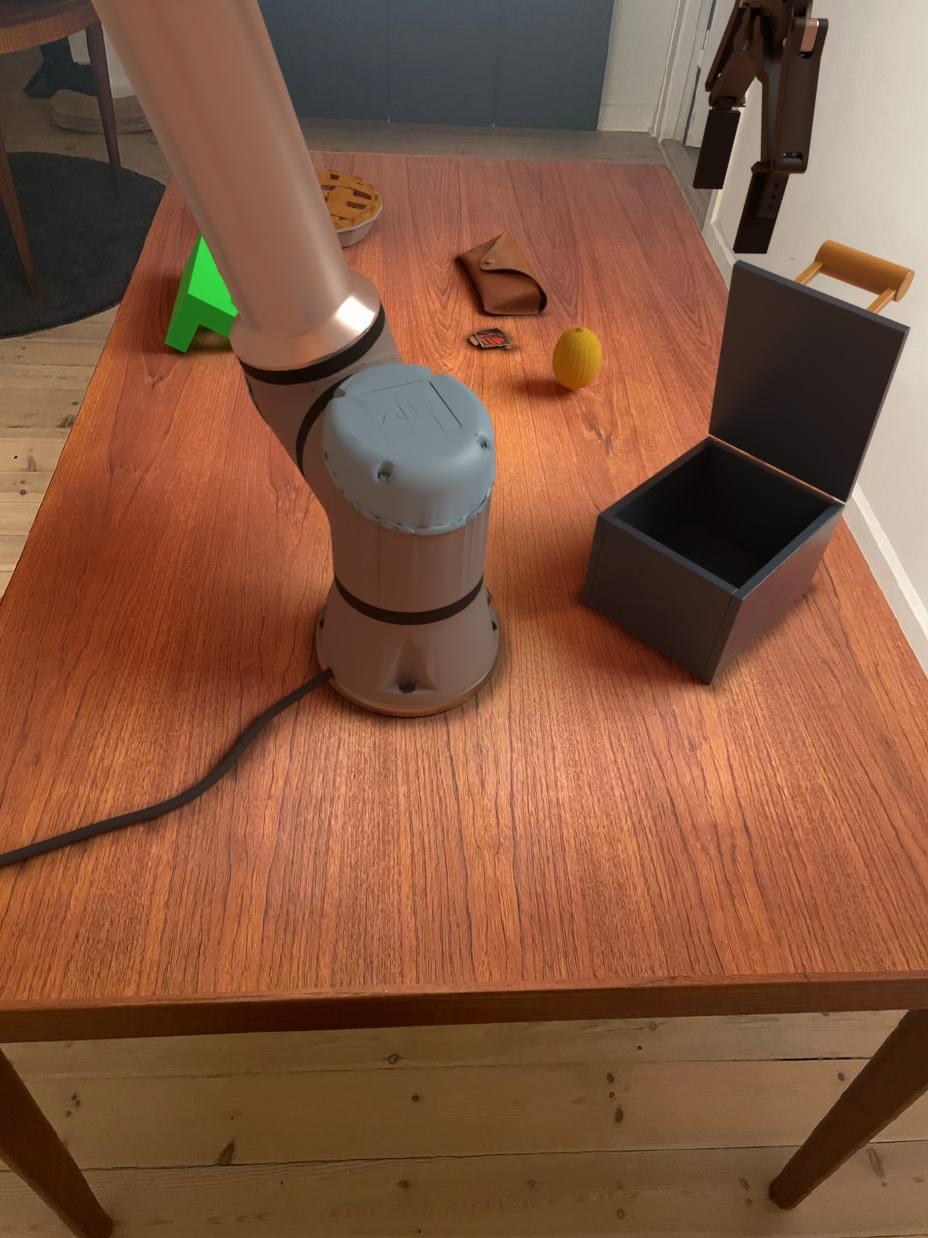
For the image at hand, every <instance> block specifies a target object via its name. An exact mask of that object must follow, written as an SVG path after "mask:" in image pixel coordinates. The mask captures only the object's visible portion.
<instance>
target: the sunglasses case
mask: <svg viewBox="0 0 928 1238" xmlns="http://www.w3.org/2000/svg"><path fill="white" fill-rule="evenodd" d="M457 258H458V260H460V262H461V264H462V265H463V266H464V268H465V269H466V271H467V272H468V274H469V276H470V278H471V280H472V282H473V284H474V287H475V288H476V290H477V293H478V295H479V299H480V300H481V303H482V307H483V310H484V312H485V313H488V314H490V315H498V316H499V315H500V316H509V317H510V316H511V317H512V316H533V315H534V316H536V315H537V316H538V315H539V314H541V313H542V312H543V311H544V310H545V309H546V308H547V305H548V296H547V293H546V290H545V289H544V287H543V285H542V284H541V282H540V279H539V278H538V276H537V274H536V272H535V270H534V269H533V267H532V265H531V264H530V262H529V261H528V259H527V258H526V255H525V254H524V253H523V251H522V249H521V248H520V246H519V245H518V244H517V242H516V241H515V239H513V237H512V235H511V233H510V232H509V231H508V229H504V230H503V232H502V233H501V234H499V235H497V236H495V237H494V238H492V239H489V240H487V241H485V242H483V243H481V244H479V245H477V246H475V247H473V248H471V249H469V250H467V251H465V252H462V253H461V254H458V255H457Z"/></svg>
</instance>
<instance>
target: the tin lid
mask: <svg viewBox="0 0 928 1238" xmlns="http://www.w3.org/2000/svg"><path fill="white" fill-rule="evenodd" d="M819 274H822V275H824V276H827V277H829V278H832V279H834V280H838V281H840V282H843V283H845V284H848V285H849V286H852V287H855V288H858V289H860V290H863V291H866V292H869V293H871V294H873V295H877V296H878V297H876V299H875V300H874V301H873V302H872V303H871V304H870V305H868V307H867V308H863V307H860V306H858V305H855V304H853V303H850V302H848V301H846V300H843V299H840V298H838V297H835V296H833V295H830V294H828V293H825V292H823V291H820V290H818V289H815V288H812V287H809V286H807V285H808V284H809V283H810V282H812V280H813V279H814V278H815V277H817V275H819ZM914 277H915V270H914V269H911V268H908V267H905V266H902V265H900V264H898V263H895V262H892V261H889V260H886V259H883V258H881V257H878V256H876V255H873V254H870V253H868V252H864V251H863V250H859V249H856V248H853V247H851V246H848V245H846V244H843V243H839V242H837V241H834V240H831V239H826V240H825V241H824V242H822V244H821V246H820V247H819V249H818V250H817V253H816V255H815V257H814V260H813V262H812V263H811V264H810V265H809V266H808V267H807V268H805V270H803V271H802V272H801V273H800V274H799V275H798V276H796V278H795V279H789V278H787V277H785V276H782V275H780V274H777V273H775V272H773V271H770V270H767V269H764V268H763V267H760V266H757V265H754V264H752V263H750V262H747V261H745V260H742V259H738V260H736V261H735V262H734V263H733V264H732V269H731V278H730V283H729V289H728V297H727V304H726V310H725V311H726V312H725V317H724V324H723V331H722V336H721V337H722V338H721V343H720V350H719V356H718V357H719V358H718V364H717V370H716V377H715V383H714V390H713V397H712V404H711V410H710V418H709V425H708V431H707V434H708V435H709V436H711V437H713V438H715V439H717V440H719V441H721V442H723V443H725V444H727V445H729V446H731V447H733V448H735V449H737V450H739V451H741V452H743V453H745V454H747V455H748V456H750V457H752V458H754V459H756V460H758V461H760V462H762V463H764V464H766V465H768V466H769V465H770V467H772V468H774V469H776V470H778V471H780V472H782V473H784V474H786V475H788V476H790V477H792V478H794V479H796V480H798V481H800V482H802V483H804V484H806V485H808V486H810V487H812V488H814V489H816V490H818V491H820V492H822V493H824V494H826V495H828V496H830V497H831V498H833V499H835V500H837V501H838V500H839V502H841V503H843V504H846V503H847V502H848V501H849V500H850V499H851V497H852V494H853V492H854V490H855V486H856V483H857V480H858V478H859V475H860V472H861V470H862V467H863V464H864V460H865V458H866V455H867V452H868V450H869V446H870V444H871V441H872V439H873V436H874V433H875V430H876V428H877V424H878V421H879V419H880V416H881V414H882V411H883V407H884V404H885V401H886V400H887V396H888V393H889V390H890V388H891V385H892V382H893V379H894V377H895V374H896V371H897V368H898V365H899V362H900V359H901V356H902V354H903V352H904V348H905V345H906V342H907V340H908V337H909V334H910V331H911V329H912V328H911V326H910V325H906V324H904V323H901V322H898V321H896V320H893V319H890V318H889V317H885V316H883V315H881V314H879V313H881V312H882V311H883V310H884V309H885V308H886V307H887V305H889V303H891V302H895V303H899V302H900V301H901V300H902V299H903V298H904V297H905V295H906V294H907V292H908V290H909V289H910V288H911V285H912V283H913V280H914Z"/></svg>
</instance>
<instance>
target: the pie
mask: <svg viewBox="0 0 928 1238" xmlns="http://www.w3.org/2000/svg"><path fill="white" fill-rule="evenodd" d="M314 169H315V172H316V175H317V178H318V181H319V184H320V186H321V189H322V192H323V195H324V198H325V201H326V204H327V207H328V210H329V213H330V216H331V219H332V222H333V224H334V227H335V230H336V233H337V236H338V239H339V242H340V245H341V248H342V249H343V248H347V247H348V248H349V247H351V246H353V245H354V244H357V243H358V242H360V241H362V240H364V238H365V237H366V235H367V234H368V233H369V231H370V229H372V226H373V224H374V222H375V220H376V218H377V217H378V215H379V214H380V213H381V211H382V209H383V208H384V207H383V203H382V198H381V197H382V196H381V194H380V193H379V189H378V187H376V185H374V184H373V183H372V184H371V183H367V182H366V179H365V178H364V177H362V176H359V175H352V176H351V175H346V174H344V173H342V172H341V171H338V170H336V169H334V168H331V169H330V170H328V171H320V170H319V169H317V168H316V167H314Z"/></svg>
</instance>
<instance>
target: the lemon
mask: <svg viewBox="0 0 928 1238" xmlns="http://www.w3.org/2000/svg"><path fill="white" fill-rule="evenodd" d="M602 356H603V355H602V345H601V341H600V339H599V338H598V336H597V334H596V333H594V332H593V331H592V330H591V329H589V328H587V327H585V326H584V325H578V326H574V327H571V328H568V329H567V330H566V331H565V332H563V333H562V334H561V335H560V336H559V338H558V340H557V341H556V343H555V346H554V349H553V354H552V358H551V359H552V360H551V362H552V363H551V365H552V372H553V374H554V377H555V379H556V380H557V382H558V383H559V384H560V385H562V386H563V387H565V388H567V389H568V390H569V391H571V392H574V391H576V390H579V389H580V390H581V389H583V388H585V387H587V386H589V385H590V384H591V383H592V382H593V381H594V380H595V379H596V378H597V376H598V375H599V372H600V368H601V365H602V360H603V359H602Z"/></svg>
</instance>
